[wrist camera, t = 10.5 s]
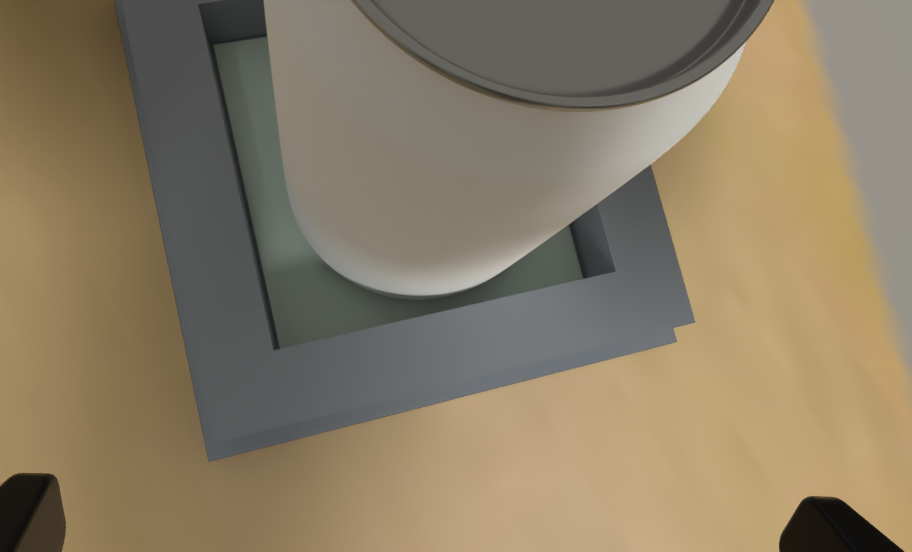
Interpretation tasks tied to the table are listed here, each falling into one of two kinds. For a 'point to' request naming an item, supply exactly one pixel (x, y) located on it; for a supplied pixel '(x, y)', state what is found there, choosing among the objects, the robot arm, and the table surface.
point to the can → (480, 121)
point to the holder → (327, 292)
